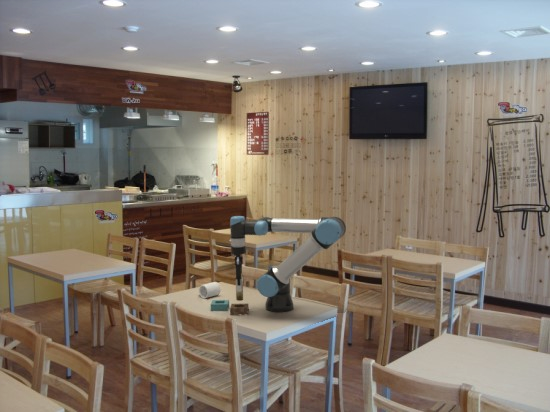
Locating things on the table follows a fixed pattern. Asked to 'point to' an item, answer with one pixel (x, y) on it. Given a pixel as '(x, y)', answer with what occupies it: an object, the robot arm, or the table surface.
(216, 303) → the socket block
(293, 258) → the robot arm
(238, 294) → the pin
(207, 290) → the mug
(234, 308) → the mount block
